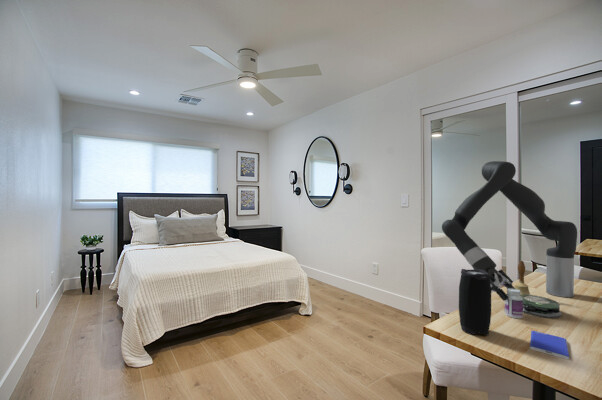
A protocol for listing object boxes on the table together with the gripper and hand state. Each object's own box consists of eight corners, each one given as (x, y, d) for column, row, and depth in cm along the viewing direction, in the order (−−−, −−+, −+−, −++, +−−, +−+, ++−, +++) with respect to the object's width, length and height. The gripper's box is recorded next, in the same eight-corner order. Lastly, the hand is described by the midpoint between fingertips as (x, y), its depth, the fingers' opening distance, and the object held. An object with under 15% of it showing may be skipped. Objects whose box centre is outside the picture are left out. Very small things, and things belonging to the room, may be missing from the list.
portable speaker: (453, 328, 92) (453, 269, 92) (469, 322, 97) (469, 266, 97) (480, 340, 85) (481, 276, 85) (496, 332, 90) (496, 272, 90)
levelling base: (512, 301, 118) (512, 291, 118) (556, 308, 110) (556, 297, 110) (515, 312, 106) (515, 301, 106) (565, 321, 98) (565, 309, 98)
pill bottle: (524, 316, 103) (524, 290, 103) (520, 320, 99) (520, 293, 99) (507, 311, 107) (507, 286, 107) (502, 315, 103) (502, 289, 103)
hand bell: (531, 301, 117) (532, 264, 117) (507, 296, 123) (507, 260, 123) (535, 297, 123) (535, 261, 123) (512, 292, 129) (512, 258, 129)
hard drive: (531, 329, 90) (529, 345, 80) (566, 338, 84) (569, 355, 75) (531, 334, 90) (529, 350, 80) (566, 343, 84) (569, 361, 75)
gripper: (477, 257, 107) (511, 295, 98) (495, 253, 115) (529, 289, 105) (463, 267, 112) (494, 305, 102) (481, 263, 119) (512, 298, 109)
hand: (512, 297), depth 103 cm, fingers open, 8 cm apart
